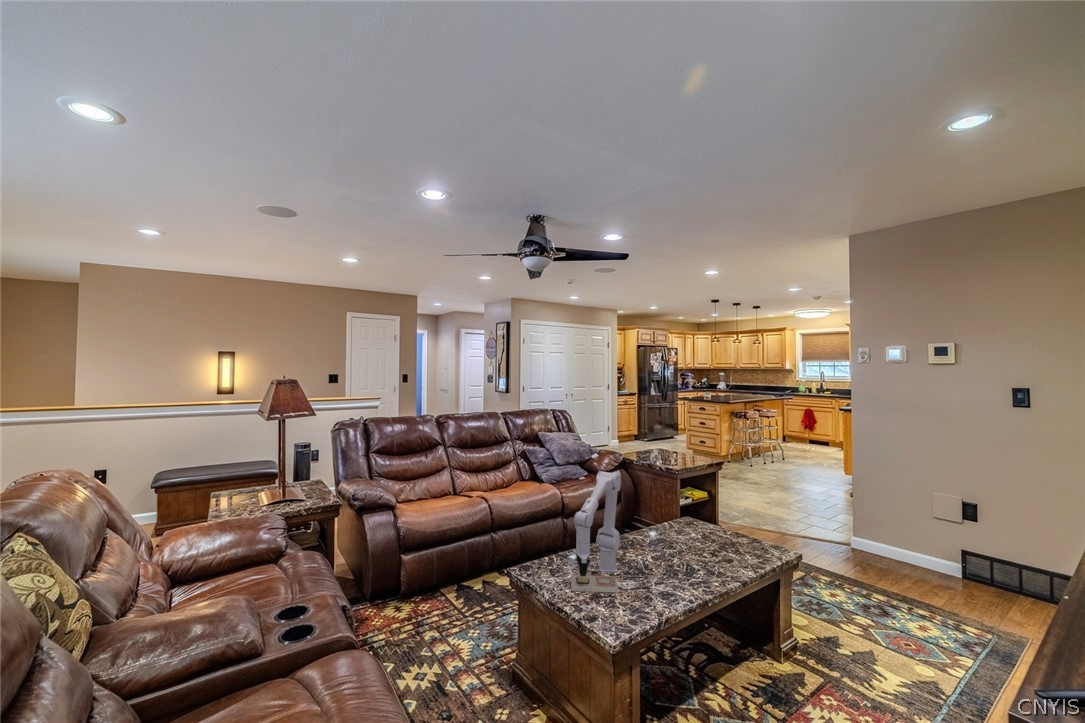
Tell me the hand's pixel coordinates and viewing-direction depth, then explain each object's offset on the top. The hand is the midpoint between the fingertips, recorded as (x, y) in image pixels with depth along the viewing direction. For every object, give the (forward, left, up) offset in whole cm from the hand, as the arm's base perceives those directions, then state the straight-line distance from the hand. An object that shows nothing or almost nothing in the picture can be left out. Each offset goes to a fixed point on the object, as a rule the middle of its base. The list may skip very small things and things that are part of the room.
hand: (582, 573), depth 189 cm
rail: (0, +5, -5) cm, 7 cm away
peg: (0, 0, -3) cm, 3 cm away
